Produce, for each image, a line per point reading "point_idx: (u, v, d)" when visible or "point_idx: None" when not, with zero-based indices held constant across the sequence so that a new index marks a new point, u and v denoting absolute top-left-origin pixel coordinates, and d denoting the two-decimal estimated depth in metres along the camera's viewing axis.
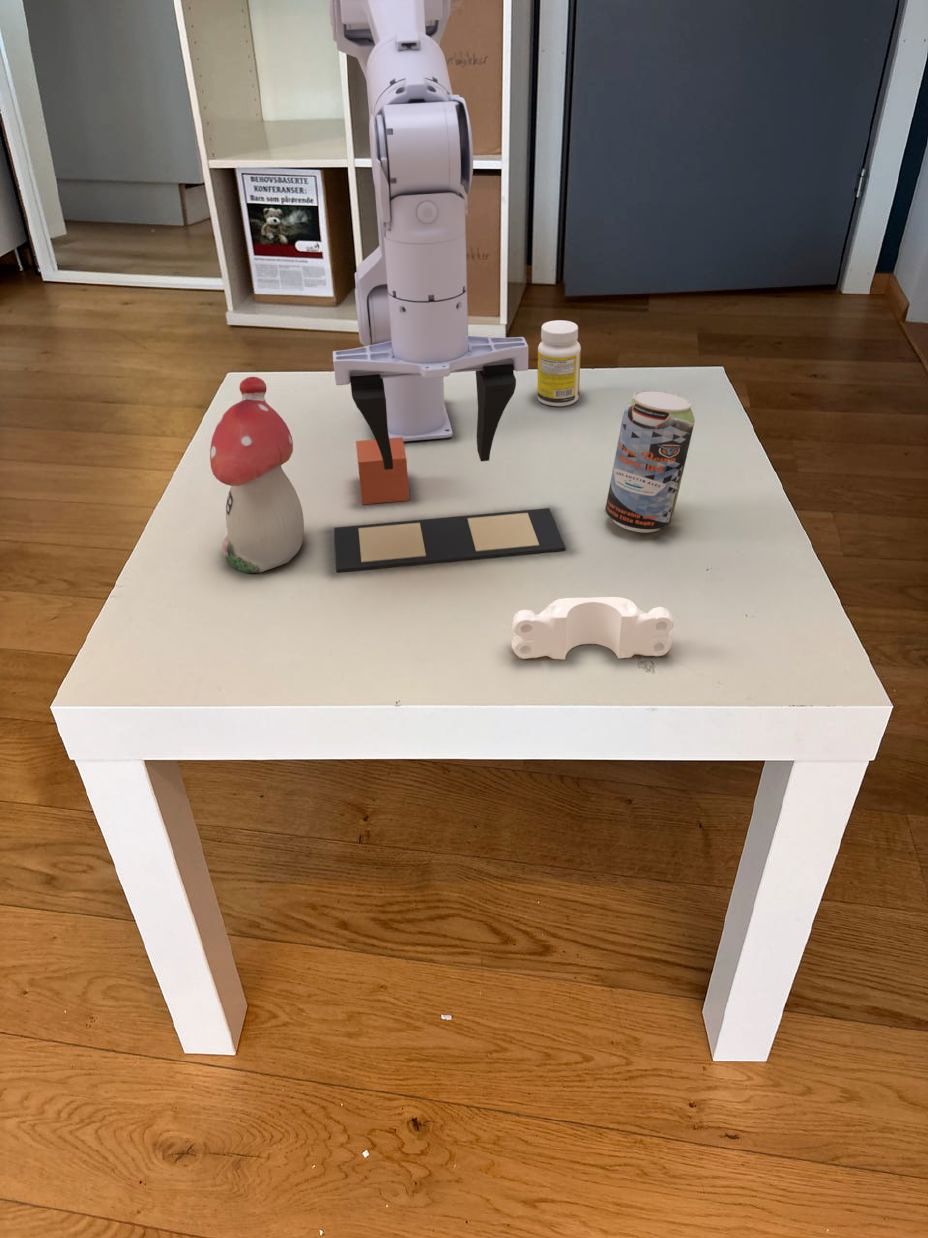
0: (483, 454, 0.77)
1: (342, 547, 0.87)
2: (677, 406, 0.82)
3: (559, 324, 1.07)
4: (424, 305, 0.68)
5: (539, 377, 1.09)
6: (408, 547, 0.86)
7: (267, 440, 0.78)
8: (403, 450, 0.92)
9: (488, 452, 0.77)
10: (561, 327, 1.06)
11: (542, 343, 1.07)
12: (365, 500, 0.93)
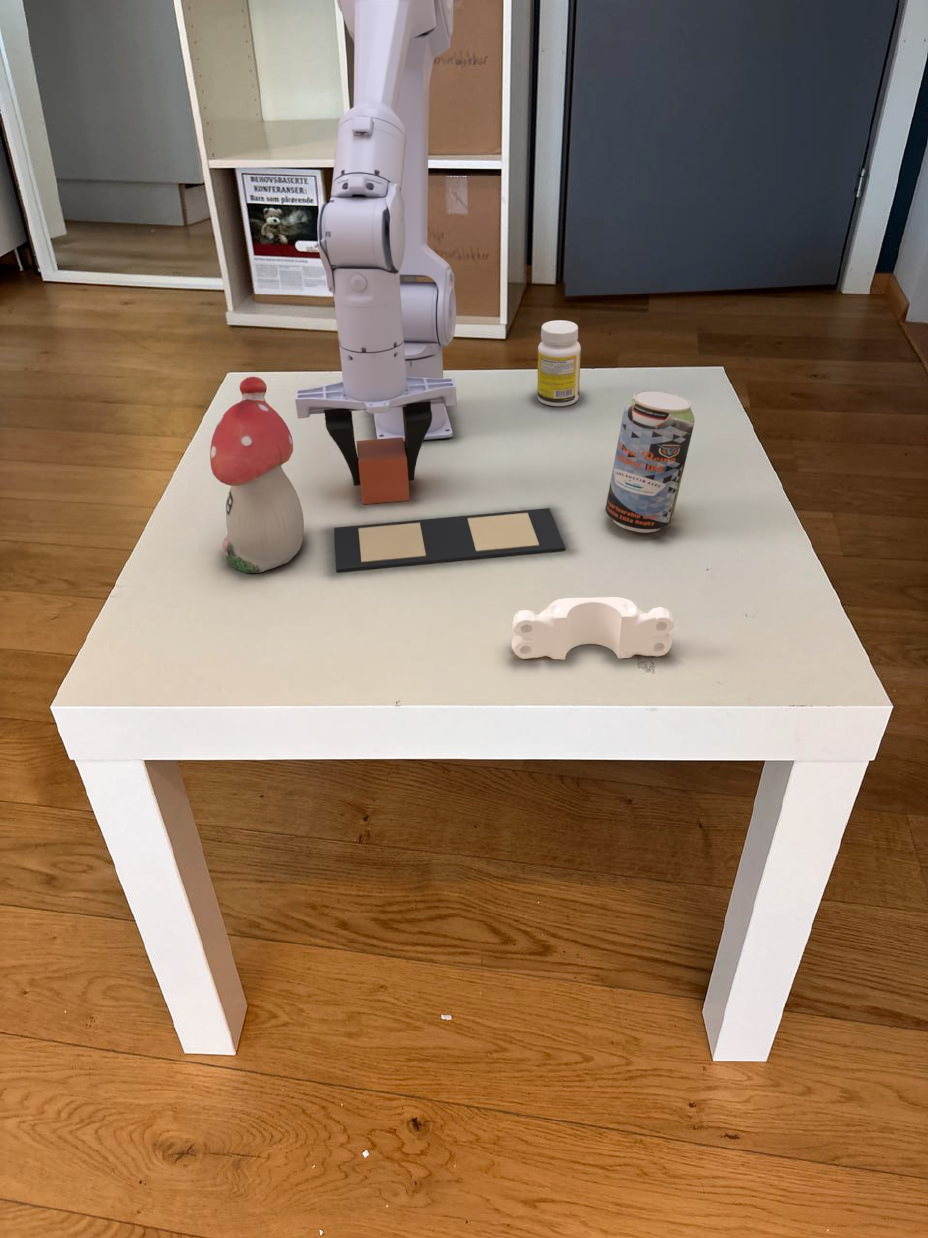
0: (408, 475, 0.93)
1: (342, 547, 0.87)
2: (677, 406, 0.82)
3: (559, 324, 1.07)
4: (367, 355, 0.84)
5: (539, 377, 1.09)
6: (408, 547, 0.86)
7: (267, 440, 0.78)
8: (403, 450, 0.92)
9: (412, 473, 0.93)
10: (561, 327, 1.06)
11: (542, 343, 1.07)
12: (365, 500, 0.93)
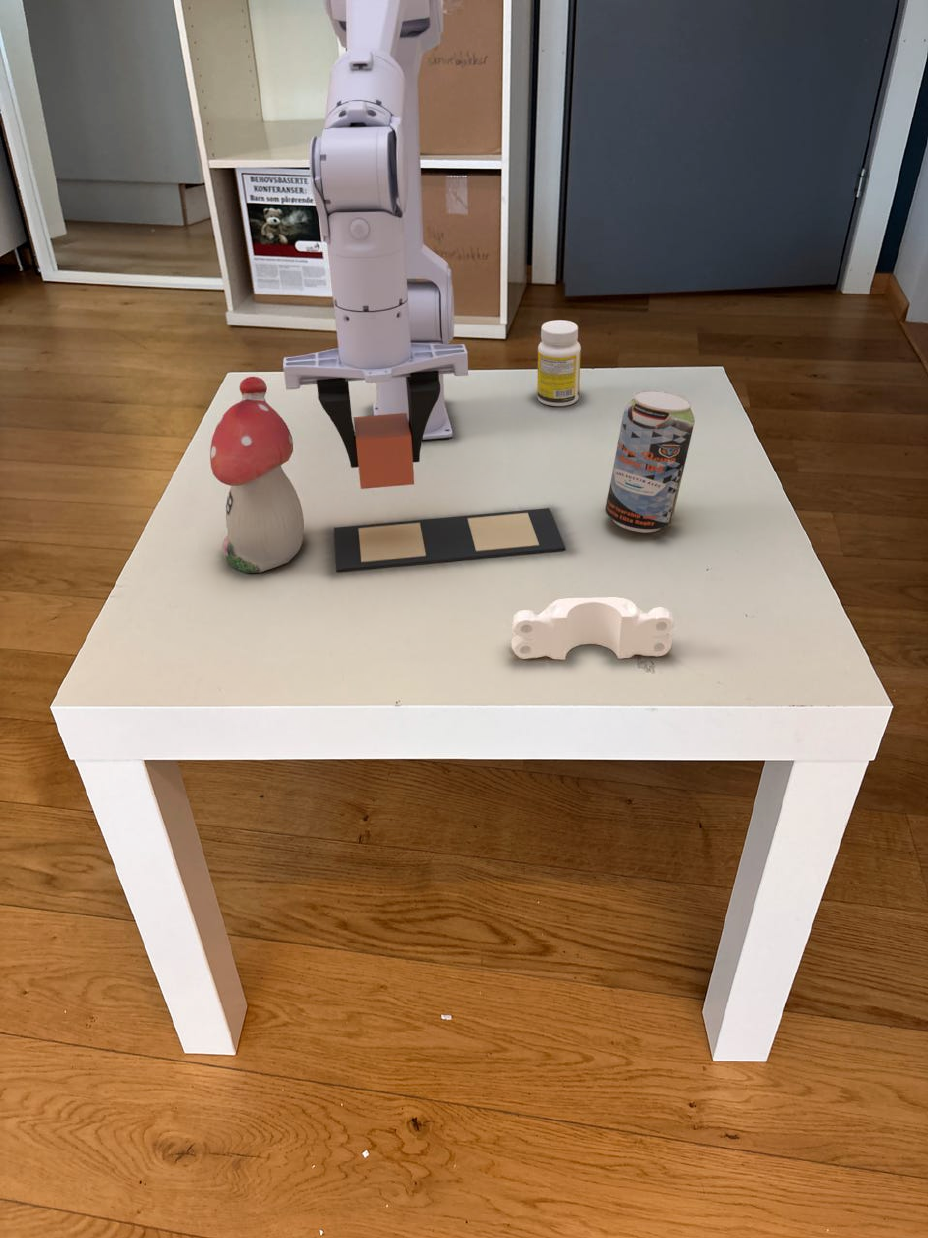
0: (413, 456, 0.82)
1: (342, 547, 0.87)
2: (677, 406, 0.82)
3: (559, 324, 1.07)
4: (366, 315, 0.73)
5: (539, 377, 1.09)
6: (408, 547, 0.86)
7: (267, 440, 0.78)
8: (407, 427, 0.81)
9: (418, 454, 0.82)
10: (561, 327, 1.06)
11: (542, 343, 1.07)
12: (364, 484, 0.82)
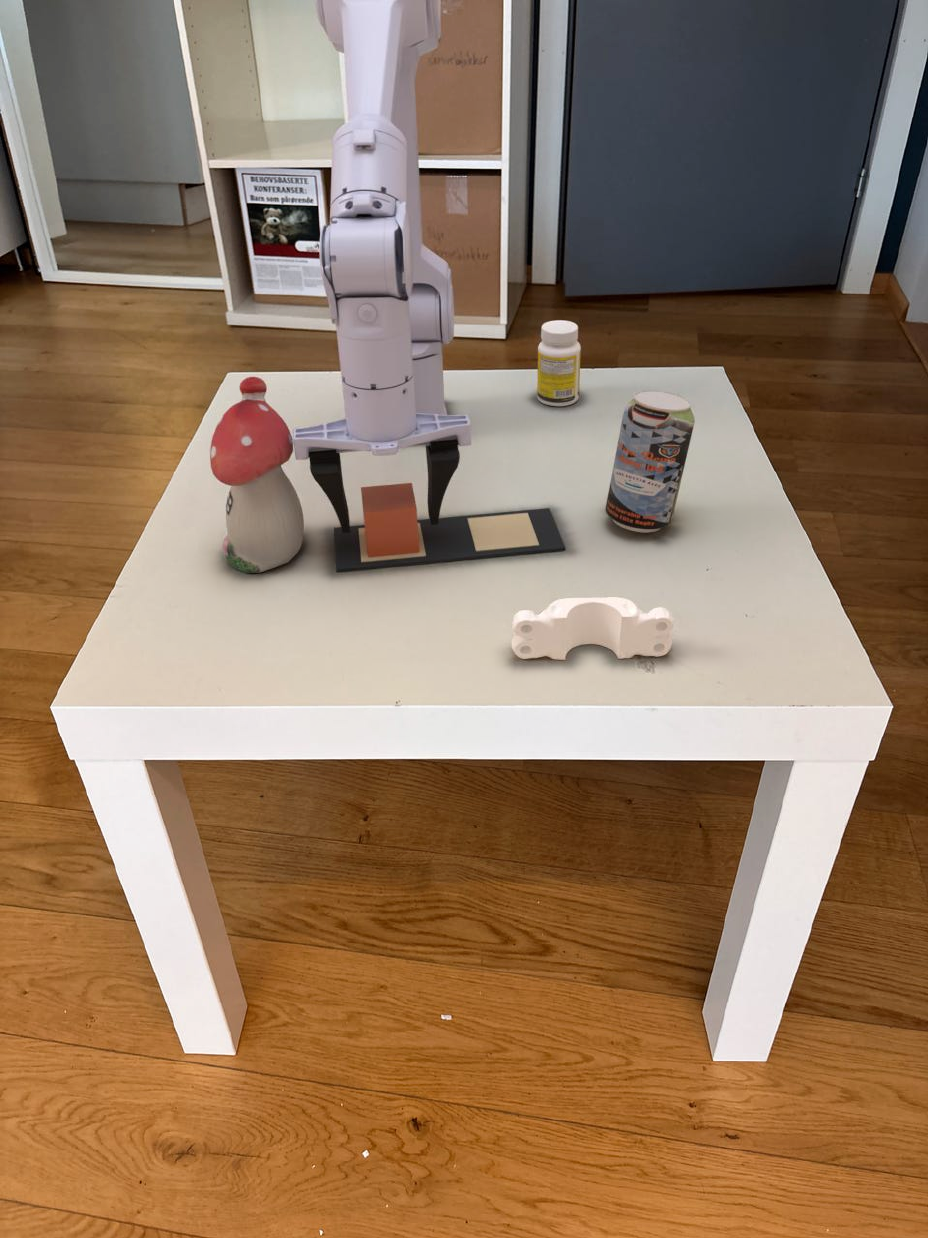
0: (432, 519, 0.85)
1: (342, 547, 0.87)
2: (677, 406, 0.82)
3: (559, 324, 1.07)
4: (373, 392, 0.76)
5: (539, 377, 1.09)
6: None
7: (267, 440, 0.78)
8: (413, 498, 0.84)
9: (437, 517, 0.85)
10: (561, 327, 1.06)
11: (542, 343, 1.07)
12: (371, 553, 0.85)
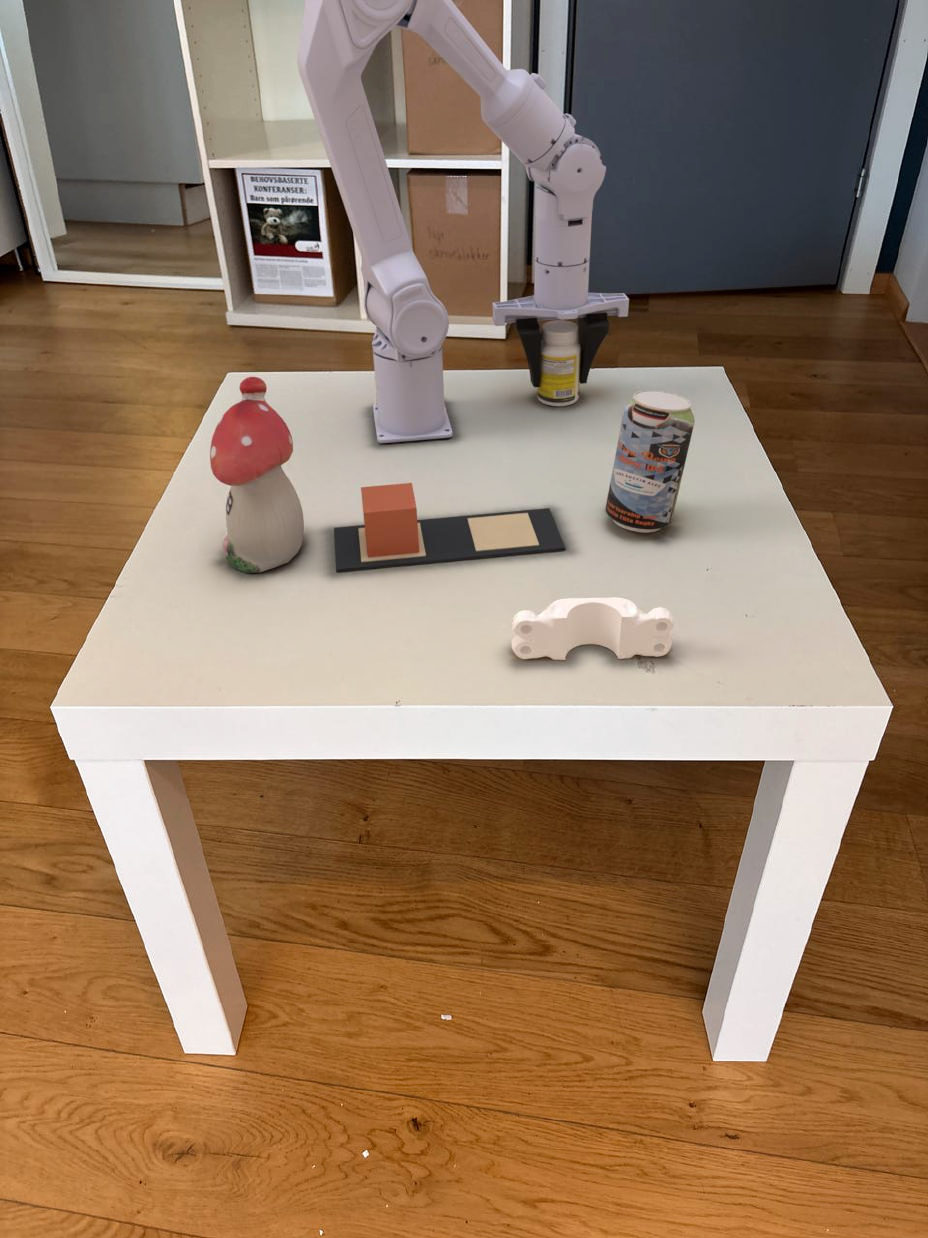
0: (583, 378, 1.09)
1: (342, 547, 0.87)
2: (677, 406, 0.82)
3: (559, 324, 1.07)
4: (563, 268, 1.00)
5: None
6: None
7: (267, 440, 0.78)
8: (413, 498, 0.84)
9: (586, 376, 1.09)
10: (561, 327, 1.06)
11: (542, 343, 1.07)
12: (371, 553, 0.85)
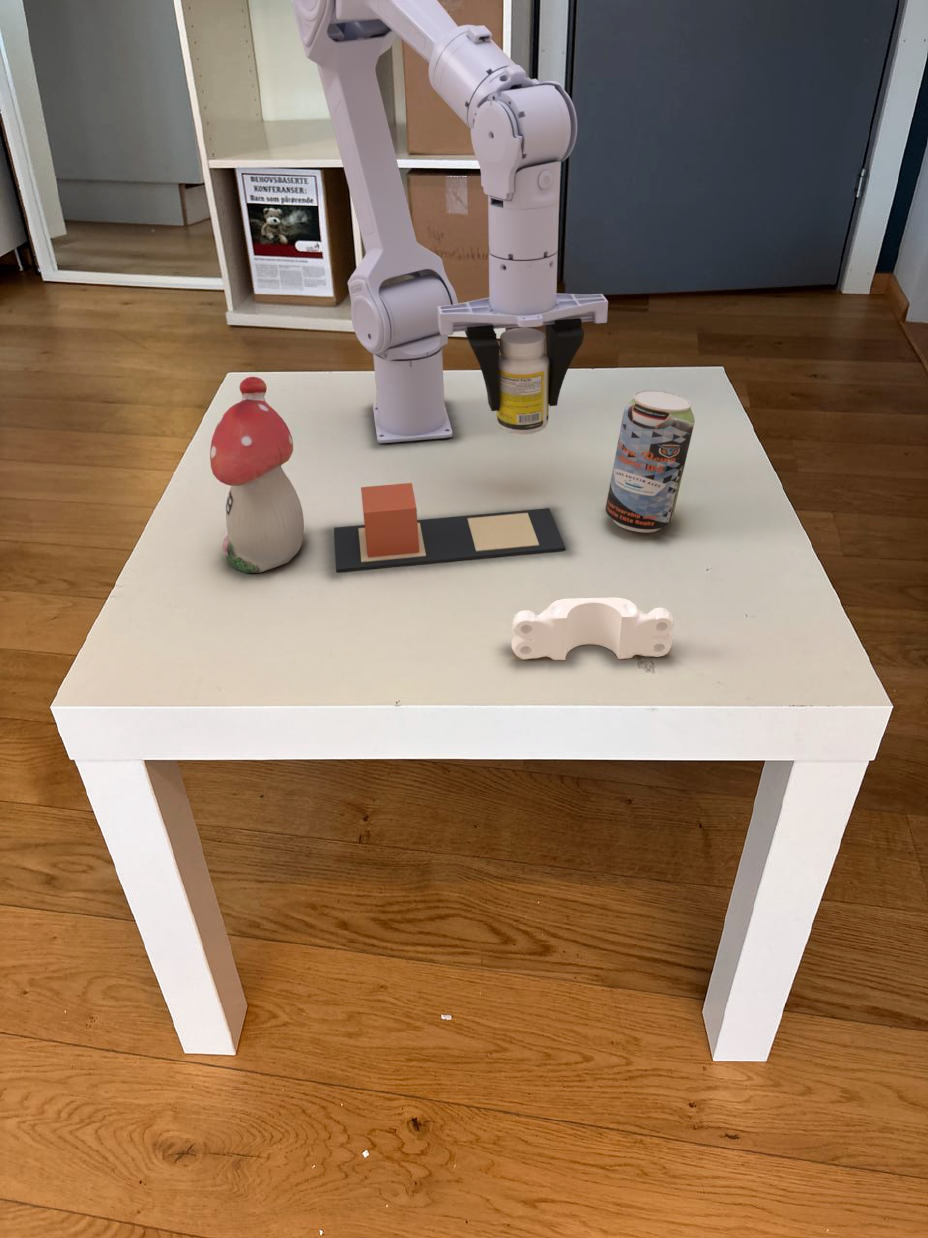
0: (552, 399, 0.88)
1: (342, 547, 0.87)
2: (677, 406, 0.82)
3: (522, 332, 0.86)
4: (523, 263, 0.79)
5: None
6: None
7: (267, 440, 0.78)
8: (413, 498, 0.84)
9: (556, 397, 0.88)
10: (524, 337, 0.85)
11: (501, 357, 0.86)
12: (371, 553, 0.85)
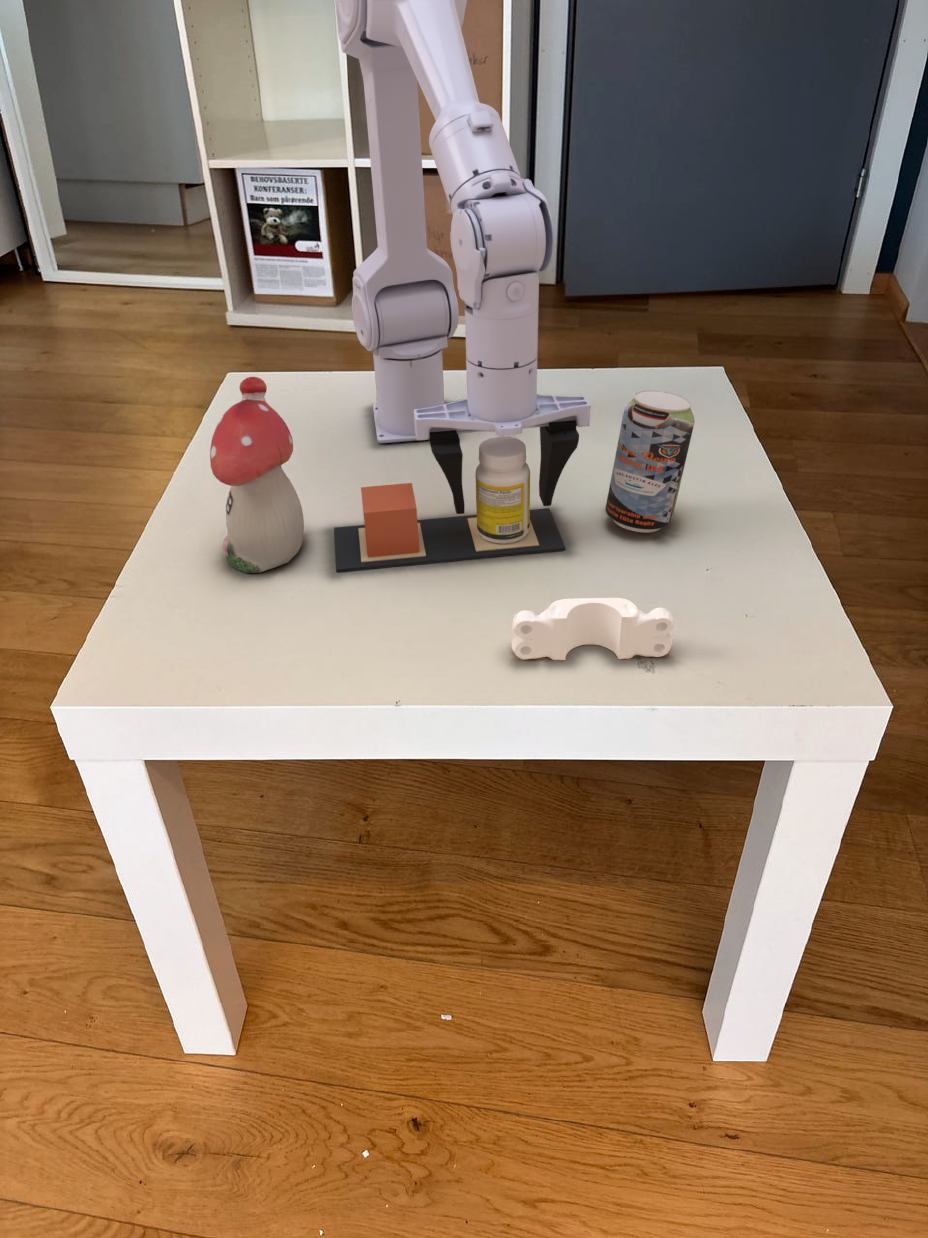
0: (546, 500, 0.85)
1: (342, 547, 0.87)
2: (677, 406, 0.82)
3: (502, 442, 0.83)
4: (501, 372, 0.76)
5: (478, 507, 0.85)
6: None
7: (267, 440, 0.78)
8: (413, 498, 0.84)
9: (551, 498, 0.85)
10: (503, 448, 0.82)
11: (480, 466, 0.84)
12: (371, 553, 0.85)
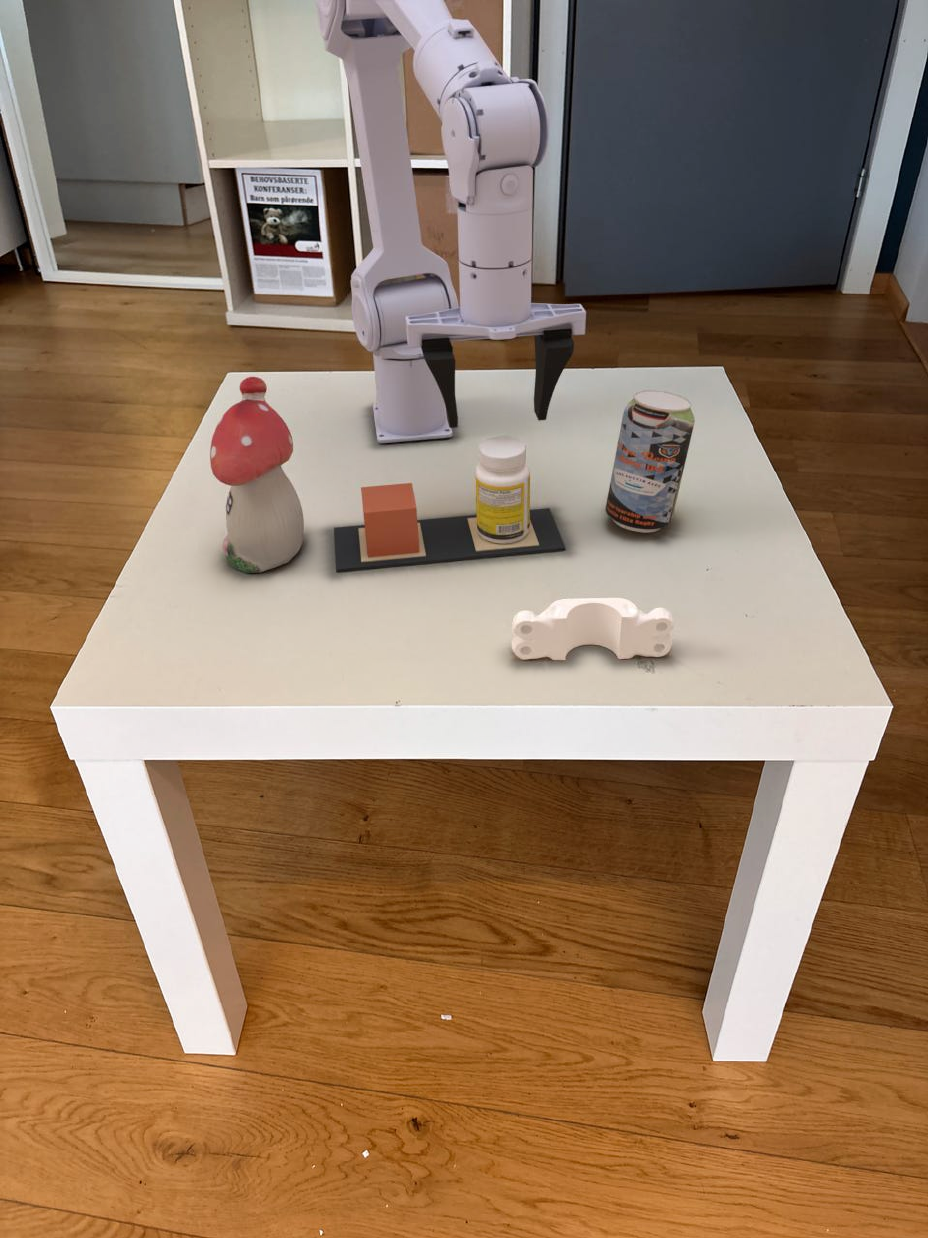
0: (541, 413, 0.84)
1: (342, 547, 0.87)
2: (677, 406, 0.82)
3: (502, 442, 0.83)
4: (494, 272, 0.74)
5: (478, 507, 0.85)
6: None
7: (267, 440, 0.78)
8: (413, 498, 0.84)
9: (546, 411, 0.83)
10: (503, 448, 0.82)
11: (480, 467, 0.84)
12: (371, 553, 0.85)
